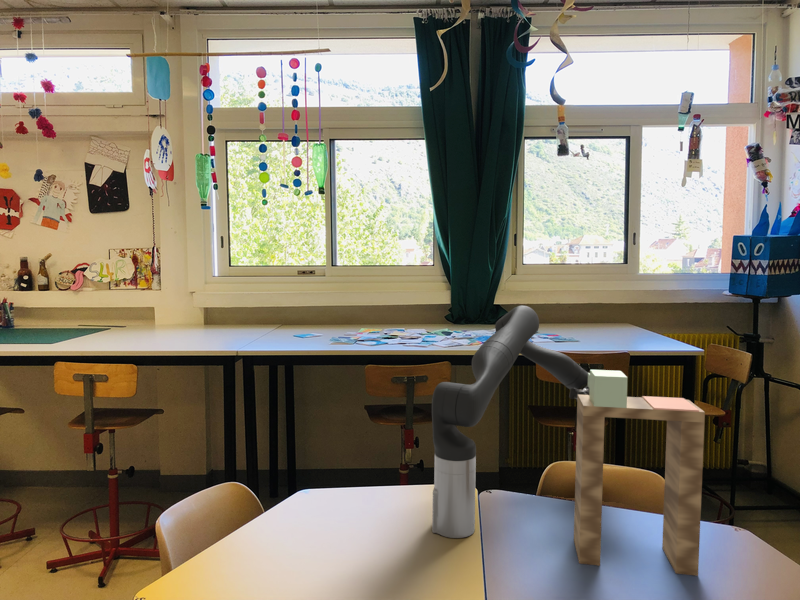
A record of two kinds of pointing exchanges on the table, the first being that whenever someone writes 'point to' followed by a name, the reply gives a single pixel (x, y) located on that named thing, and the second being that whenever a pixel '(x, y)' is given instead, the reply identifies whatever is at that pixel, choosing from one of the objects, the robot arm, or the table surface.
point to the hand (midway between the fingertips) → (601, 399)
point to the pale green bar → (608, 388)
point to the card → (669, 403)
